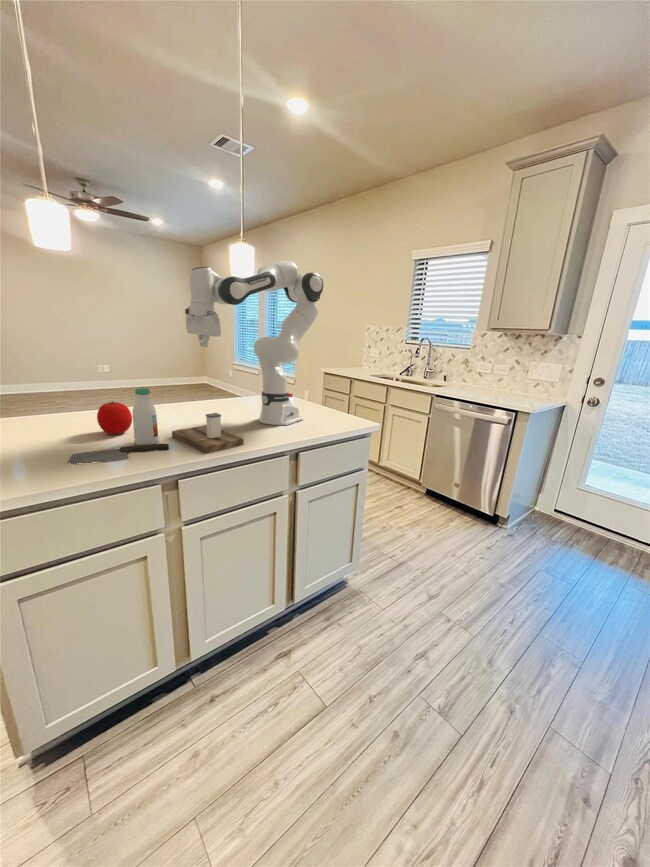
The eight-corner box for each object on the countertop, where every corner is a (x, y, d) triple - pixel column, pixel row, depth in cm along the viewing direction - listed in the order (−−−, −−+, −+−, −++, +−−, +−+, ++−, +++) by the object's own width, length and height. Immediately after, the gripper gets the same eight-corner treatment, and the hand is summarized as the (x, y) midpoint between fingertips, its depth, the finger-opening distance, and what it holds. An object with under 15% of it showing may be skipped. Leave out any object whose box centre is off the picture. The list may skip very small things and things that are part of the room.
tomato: (111, 428, 144) (107, 397, 140) (139, 430, 144) (136, 399, 140) (90, 437, 132) (86, 404, 128) (121, 439, 132) (117, 406, 128)
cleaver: (167, 446, 129) (167, 440, 128) (172, 455, 121) (171, 449, 120) (68, 458, 114) (67, 451, 113) (66, 468, 106) (65, 462, 105)
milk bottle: (149, 447, 125) (144, 391, 120) (130, 444, 127) (124, 389, 121) (163, 441, 133) (159, 388, 127) (144, 438, 134) (140, 386, 128)
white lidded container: (216, 434, 135) (215, 412, 133) (221, 436, 133) (220, 414, 131) (206, 436, 132) (205, 414, 129) (211, 438, 130) (210, 416, 127)
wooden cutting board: (208, 430, 149) (208, 424, 149) (243, 444, 135) (243, 438, 134) (172, 437, 138) (171, 430, 137) (205, 453, 123) (205, 446, 122)
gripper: (224, 312, 136) (225, 348, 140) (196, 311, 149) (197, 344, 153) (209, 310, 132) (211, 348, 136) (182, 309, 144) (184, 344, 148)
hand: (203, 346), depth 144 cm, fingers closed
